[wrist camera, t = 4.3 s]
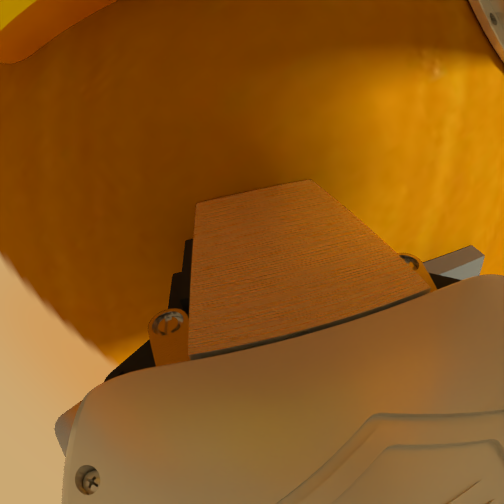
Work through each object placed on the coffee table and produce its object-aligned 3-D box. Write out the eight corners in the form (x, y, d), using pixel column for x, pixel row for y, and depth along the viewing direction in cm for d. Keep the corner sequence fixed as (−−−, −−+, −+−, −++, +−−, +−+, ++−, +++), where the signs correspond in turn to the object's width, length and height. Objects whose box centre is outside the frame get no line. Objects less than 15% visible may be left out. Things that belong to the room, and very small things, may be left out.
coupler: (196, 203, 12) (188, 390, 4) (310, 179, 12) (452, 311, 4) (222, 295, 14) (246, 467, 7) (317, 272, 14) (399, 420, 7)
